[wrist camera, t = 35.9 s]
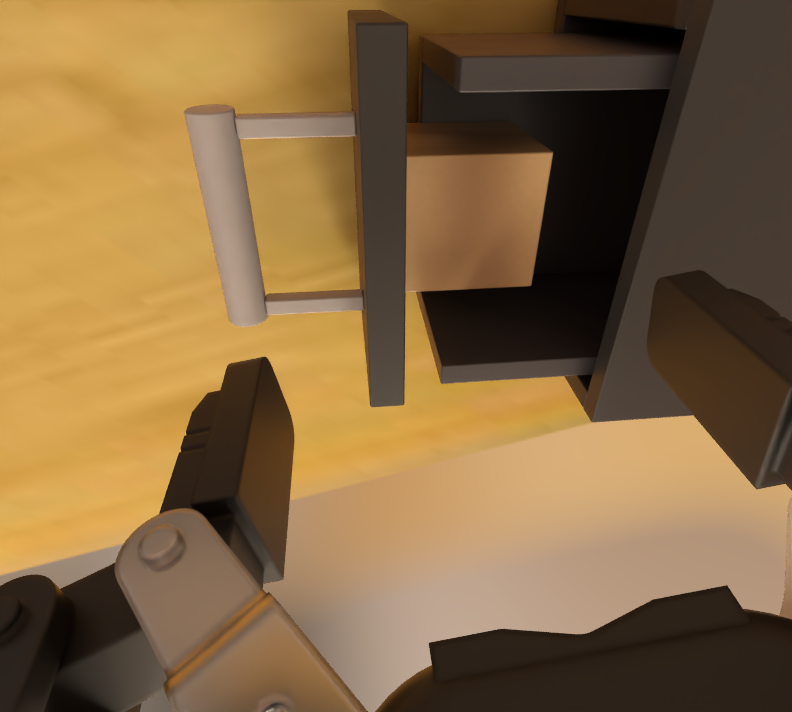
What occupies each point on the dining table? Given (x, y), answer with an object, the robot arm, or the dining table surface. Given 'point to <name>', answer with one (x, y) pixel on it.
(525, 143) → the block
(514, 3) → the dining table surface
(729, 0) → the dark drawer cabinet
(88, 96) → the dining table surface
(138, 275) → the dining table surface
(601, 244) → the drawer with bar handle
